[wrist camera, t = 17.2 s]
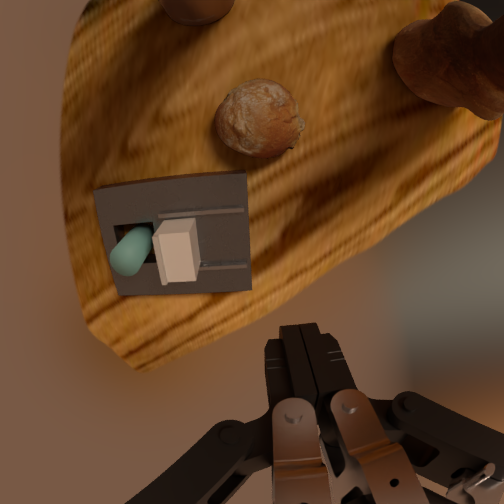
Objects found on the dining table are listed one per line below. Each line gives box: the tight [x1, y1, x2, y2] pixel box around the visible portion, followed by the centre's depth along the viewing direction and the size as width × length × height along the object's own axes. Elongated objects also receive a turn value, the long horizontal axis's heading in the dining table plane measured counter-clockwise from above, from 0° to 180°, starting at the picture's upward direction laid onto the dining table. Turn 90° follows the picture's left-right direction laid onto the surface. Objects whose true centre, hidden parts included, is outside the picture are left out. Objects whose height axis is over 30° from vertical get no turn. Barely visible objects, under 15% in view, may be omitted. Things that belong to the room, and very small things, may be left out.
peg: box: [110, 223, 155, 276], centre depth 34 cm, size 4×4×8 cm
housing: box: [93, 170, 252, 295], centre depth 36 cm, size 16×20×4 cm
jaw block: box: [152, 218, 201, 285], centre depth 32 cm, size 6×4×6 cm, turn 2°
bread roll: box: [215, 79, 305, 158], centre depth 30 cm, size 10×10×8 cm
